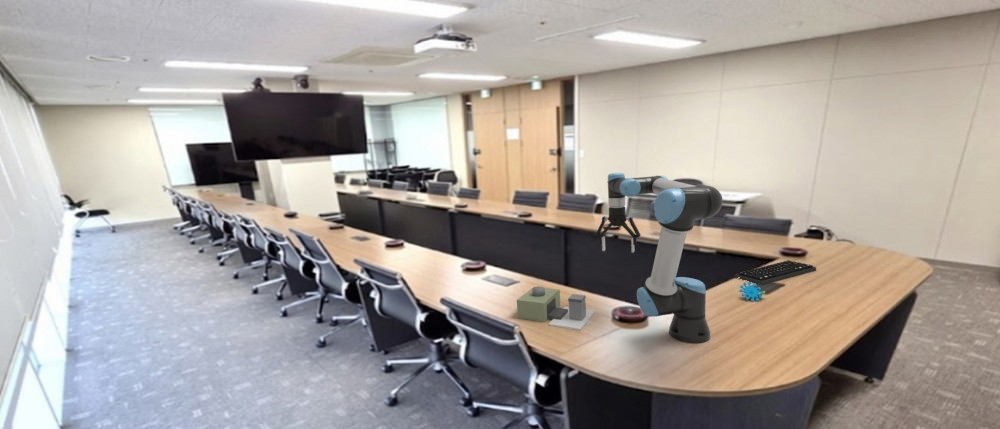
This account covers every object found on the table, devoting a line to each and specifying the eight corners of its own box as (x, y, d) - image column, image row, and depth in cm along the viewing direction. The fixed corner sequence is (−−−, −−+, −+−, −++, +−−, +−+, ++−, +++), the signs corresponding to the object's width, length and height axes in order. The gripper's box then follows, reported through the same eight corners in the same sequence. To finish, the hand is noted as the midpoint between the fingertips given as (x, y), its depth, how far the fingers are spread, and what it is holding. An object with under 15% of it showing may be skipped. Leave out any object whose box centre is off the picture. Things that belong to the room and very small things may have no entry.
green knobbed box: (595, 311, 199) (594, 287, 197) (580, 330, 179) (579, 303, 177) (535, 303, 215) (533, 281, 213) (515, 320, 195) (513, 296, 193)
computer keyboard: (762, 286, 218) (762, 279, 217) (734, 279, 232) (734, 272, 231) (816, 271, 234) (816, 265, 234) (787, 265, 249) (787, 259, 248)
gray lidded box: (586, 315, 192) (585, 295, 191) (582, 321, 187) (581, 299, 185) (573, 314, 195) (572, 293, 194) (569, 319, 190) (568, 298, 188)
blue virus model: (741, 298, 197) (739, 280, 203) (737, 303, 202) (735, 285, 208) (767, 302, 195) (764, 283, 200) (762, 307, 200) (759, 288, 205)
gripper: (646, 205, 189) (647, 250, 192) (592, 205, 201) (594, 247, 204) (643, 207, 183) (644, 254, 186) (588, 207, 195) (589, 251, 198)
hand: (618, 251), depth 195 cm, fingers open, 13 cm apart
